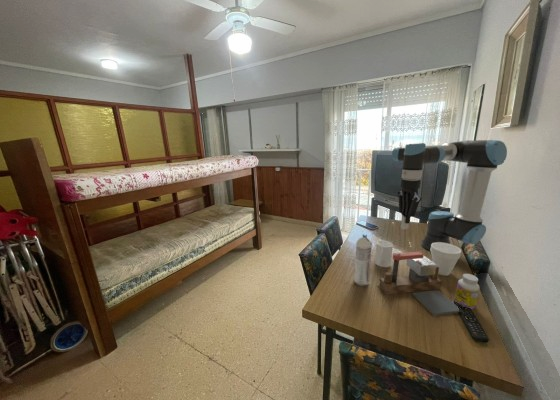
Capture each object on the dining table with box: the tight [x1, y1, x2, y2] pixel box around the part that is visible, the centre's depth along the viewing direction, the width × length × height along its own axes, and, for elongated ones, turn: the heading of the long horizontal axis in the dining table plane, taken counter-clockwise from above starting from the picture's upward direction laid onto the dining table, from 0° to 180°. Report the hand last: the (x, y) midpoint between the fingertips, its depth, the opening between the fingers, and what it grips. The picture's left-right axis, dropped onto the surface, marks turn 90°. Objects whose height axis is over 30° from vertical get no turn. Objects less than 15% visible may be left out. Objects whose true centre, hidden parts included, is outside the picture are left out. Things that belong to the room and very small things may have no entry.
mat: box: [412, 289, 460, 316], centre depth 91 cm, size 12×12×1 cm
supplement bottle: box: [454, 273, 480, 310], centre depth 89 cm, size 7×7×13 cm
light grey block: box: [405, 255, 437, 276], centre depth 99 cm, size 7×9×5 cm
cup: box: [429, 242, 462, 276], centre depth 111 cm, size 12×12×14 cm
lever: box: [392, 251, 425, 262], centre depth 97 cm, size 13×3×2 cm, turn 96°
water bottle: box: [353, 233, 373, 287], centre depth 103 cm, size 7×7×25 cm
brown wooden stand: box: [379, 259, 442, 295], centre depth 100 cm, size 26×6×15 cm, turn 96°
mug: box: [374, 239, 394, 268], centre depth 119 cm, size 12×8×12 cm
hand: (404, 228), depth 103 cm, fingers closed
